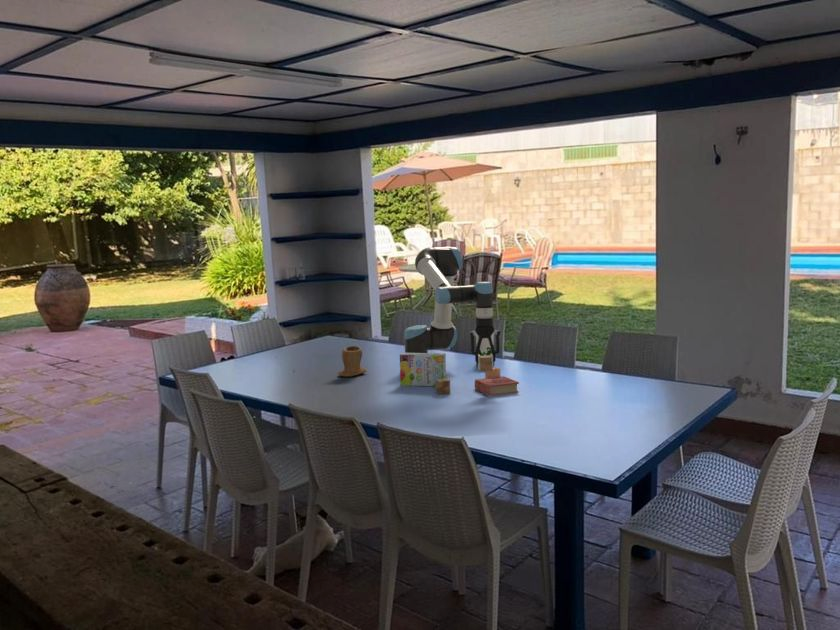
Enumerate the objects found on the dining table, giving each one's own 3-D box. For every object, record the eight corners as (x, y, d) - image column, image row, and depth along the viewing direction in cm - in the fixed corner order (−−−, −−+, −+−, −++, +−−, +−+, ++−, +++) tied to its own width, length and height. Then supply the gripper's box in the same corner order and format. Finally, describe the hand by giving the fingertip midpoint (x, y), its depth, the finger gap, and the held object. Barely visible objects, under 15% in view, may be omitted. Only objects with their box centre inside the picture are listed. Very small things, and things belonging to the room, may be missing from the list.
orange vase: (350, 379, 357) (349, 349, 355) (334, 376, 365) (333, 347, 363) (372, 374, 368) (371, 345, 366) (357, 371, 376) (356, 343, 374)
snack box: (446, 384, 340) (445, 352, 338) (443, 387, 334) (443, 355, 332) (403, 383, 345) (402, 351, 343) (400, 385, 340) (399, 354, 338)
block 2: (479, 369, 323) (479, 355, 322) (490, 368, 323) (490, 355, 322) (480, 371, 318) (480, 357, 317) (491, 370, 318) (491, 357, 317)
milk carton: (482, 362, 392) (481, 325, 389) (496, 363, 386) (496, 326, 384) (473, 364, 385) (473, 327, 382) (488, 366, 379) (487, 328, 377)
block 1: (439, 395, 319) (439, 381, 318) (435, 392, 324) (435, 379, 323) (450, 393, 320) (449, 380, 320) (446, 391, 325) (446, 378, 324)
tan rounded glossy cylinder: (486, 387, 331) (486, 370, 330) (484, 384, 338) (484, 367, 337) (501, 386, 332) (501, 369, 331) (499, 383, 338) (499, 366, 337)
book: (473, 390, 328) (473, 379, 327) (503, 386, 333) (503, 376, 332) (488, 397, 314) (487, 385, 314) (519, 393, 320) (518, 382, 319)
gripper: (464, 318, 314) (466, 371, 316) (506, 317, 314) (507, 370, 317) (463, 316, 321) (464, 368, 324) (503, 315, 322) (504, 366, 324)
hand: (485, 369), depth 320 cm, fingers closed on block 2, 5 cm apart
